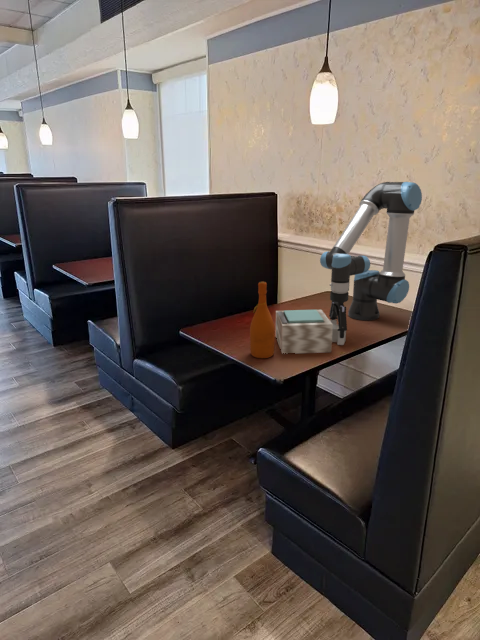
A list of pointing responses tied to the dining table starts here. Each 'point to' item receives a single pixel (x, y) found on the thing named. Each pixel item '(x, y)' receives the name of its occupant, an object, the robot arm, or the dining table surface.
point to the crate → (303, 335)
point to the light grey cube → (336, 333)
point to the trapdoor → (303, 316)
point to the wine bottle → (262, 327)
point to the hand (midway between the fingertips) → (336, 339)
